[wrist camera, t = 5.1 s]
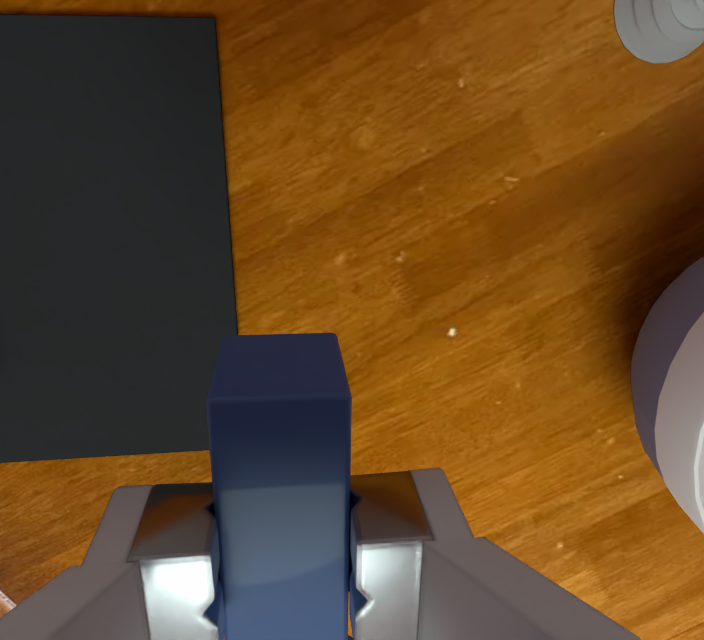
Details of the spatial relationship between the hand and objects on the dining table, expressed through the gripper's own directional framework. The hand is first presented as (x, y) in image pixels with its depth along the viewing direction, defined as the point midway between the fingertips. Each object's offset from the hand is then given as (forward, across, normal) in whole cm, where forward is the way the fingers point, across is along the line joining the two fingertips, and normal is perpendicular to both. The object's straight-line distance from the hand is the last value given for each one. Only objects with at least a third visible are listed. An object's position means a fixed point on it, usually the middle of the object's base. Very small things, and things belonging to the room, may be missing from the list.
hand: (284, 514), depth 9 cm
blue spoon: (+1, 0, +3) cm, 3 cm away
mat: (+20, +10, +1) cm, 22 cm away
